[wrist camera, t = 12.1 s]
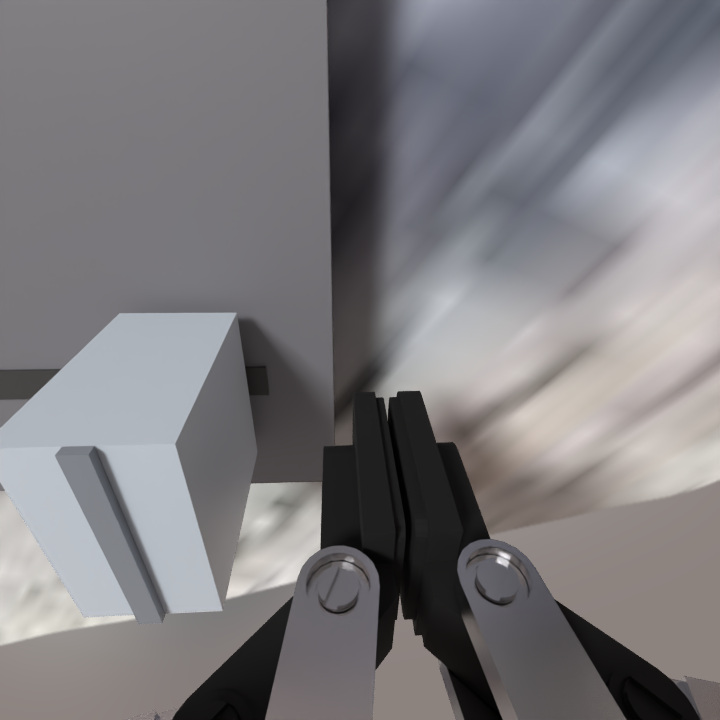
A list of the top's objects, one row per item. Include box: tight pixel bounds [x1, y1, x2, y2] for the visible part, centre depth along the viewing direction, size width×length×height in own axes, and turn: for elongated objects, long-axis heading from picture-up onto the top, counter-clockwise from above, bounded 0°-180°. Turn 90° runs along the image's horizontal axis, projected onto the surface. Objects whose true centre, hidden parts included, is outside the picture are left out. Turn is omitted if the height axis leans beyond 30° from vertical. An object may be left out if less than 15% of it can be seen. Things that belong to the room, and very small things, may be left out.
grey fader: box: [0, 313, 257, 624], centre depth 10 cm, size 5×3×5 cm, turn 179°
